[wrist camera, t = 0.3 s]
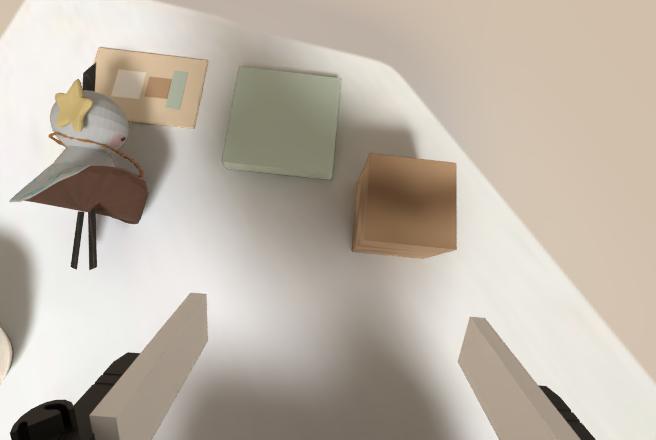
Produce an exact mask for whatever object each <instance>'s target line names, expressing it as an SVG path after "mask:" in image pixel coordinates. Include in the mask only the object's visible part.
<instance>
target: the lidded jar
mask: <svg viewBox="0 0 656 440" xmlns="http://www.w3.org/2000/svg"><path fill="white" fill-rule="evenodd" d="M12 358H13V349H12V345H11V342H10V340H9V338H8V337H7V336H6V334H5V332H4V331H3V330H2V329H1V327H0V385H1V383H2V381H3V380H4V378H5V376H6V374H7V372H8V370H9V368H10V366H11V363H12Z"/></svg>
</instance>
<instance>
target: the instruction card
mask: <svg viewBox="0 0 656 440" xmlns="http://www.w3.org/2000/svg"><path fill="white" fill-rule="evenodd" d="M95 63H96V80H95V92H98V93H100V94H103V95H105V96H107V97H109V98H110V99H111V100H113V101H114V102H115V103H116V104H117V105H118V106H119V107H120V108H121V109H122V110H123V112H124V113H125V115H126V117H127V120H128V121H129V122H138V123H147V124H156V125H165V126H174V127H183V128H192V129H194V128H195V123H196V118H197V113H198V109H199V104H200V99H201V94H202V90H203V85H204V80H205V75H206V71H207V66H208V61H207V60H199V59H191V58H182V57H174V56H165V55H157V54H148V53H140V52H132V51H123V50H115V49H106V48H98V51H97V54H96V57H95V61H94V64H95Z"/></svg>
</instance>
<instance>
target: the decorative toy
mask: <svg viewBox="0 0 656 440" xmlns="http://www.w3.org/2000/svg"><path fill="white" fill-rule="evenodd" d="M95 80H96V63H95V64H93V65H92V66H91V67H90V68H89V69H88V70H86V71H85V72H84V73H83V89H82V86H81V82H80V80H79V79H77V80H76V81H74V83H73V85H72V86H71V88H70V89H69V91H68V92H67V93H66V94H64V93H57V94H56V95H55V100H56V102H55V104H54V105H53V107H52V109H51V114H50V122H51V126H52V129H53V131H54V133H52V134H50V135H49V137H50V138H51V139H53V140H54V141H56V142H57V143H58V144H61V145H63V146H64V147H66V149H65V150H64V151H63V152H62V154H61V155H60V156H59V157H58V158H57V159H56V160H55V162H54V163H53V164H52V165H51V166H49V167H48V168H47V169H46V170H44V171H43V172H42V173H41V174H40V175H39V176H38V177H36V178H35V179H34V180H33V181H32V182H30V183H29V184H28V185H27V186H26V187H24V188H23V189H22V190H21V191H20V192H19V193H17V194H16V195H15V196H14V197H13V198H12V199H11V200H10V201H9V202H19V201H23V200H24V201H30V202H36V203H42V204H47V205H53V206H58V207H63V208H69V209H74V210H79V211H78V216H77V223H76V231H75V238H74V246H73V253H72V261H71V267H72V268H74V269H77V264H78V256H79V248H80V241H81V233H82V226H83V218H84V212H80V211H85V212H88V225H89V270H91V269H93V268H96V267H97V253H96V215H95V214H100V215H105V216H110V217H112V218H115V219H119V220H121V221H123V222H126V223H129V224H138V223H139V221H140V219H141V216H142V213H143V210H144V206H145V203H146V200H147V196H148V189H147V186H146V182H145V181H143V180H142V179H141V177H143V171H142V170H141V168H140V166H138V163H136V162H135V161H134V160H133V159H130V158H129V157H127V156H126V155H125V156H124V154H122V153H119V151H117V150H118V149H120V148H121V147H122V146H123V145H124V143H125V142H126V140H127V138H128V134H129V125H128V120H127V117H126V115H125V113H124V112H123V110H122V109H121V108H120V107H119V106H118V105H117V104H116V103H115V102H114V101H113V100H111V99H110V98H109V97H107V96H105V95H103V94H100V93H98V92H95ZM52 135H56V136H57V138H58V139H59V140H60V141H59V140H57V139H55V138H53V136H52ZM114 152H117V153H119V154H120V155H121V156H124V158H127V159H128V160H130V161H131V162H133V163H134V164H135V166H137V168H138V169H139V172H140V176H137V175H135V174H133V173H131V172H129V171H127V170H124V169H121V168H117V167H116V166H115V164H114V162H113V160H112V158H111V156H110V154H112V153H114Z"/></svg>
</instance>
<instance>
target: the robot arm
mask: <svg viewBox="0 0 656 440" xmlns="http://www.w3.org/2000/svg"><path fill="white" fill-rule="evenodd" d="M207 341H208V332H207V299H206V294H199V293H190V294H189V295H188V297H187V298H186V299H185V300H184V301H183V303H182V304H181V305H180V306H179V308H178V309H177V310H176V311H175V312H174V314H173V315H172V316H171V317H170V318H169V320H168V321H167V322H166V323H165V324H164V326H163V327H162V328H161V329H160V330H159V332H158V333H157V334H156V335H155V337H154V338H153V339H152V340H151V341H150V343H149V344H148V345H147V346H146V347H145V349H144V350H143V351H142V352H141V353H126V354H125V355H123V356H122V357H120V358H119V359H117V360H116V361H114V362H113V363H112V364H111V365H110V366H109V367H108V369H107V370H106V371H105V372H104V373H103V375H101V376H100V377H99V378H98V380H97V381H96V382H95V384H94V385H92V386H91V387H90V388H89V389H88V391H87V392H86V393H85V394H84V395H83V396H82V397H81V398H80V399H79V400H78V402H77V403H76V404H75V405H74V406H73V404H72V402H69V401H67V400H53V401H50V402H46V403H43V404H41V405H39V406H37V407H35V408H33V409H31V410H30V411H28V412H27V413H25V414H24V415H23V416H21V417H20V418H19V420H18V421H17V422H16V423H15V424H14V425H13V427H12V430H11V432H10V435H11V439H12V440H152V438H153V436H154V435H155V433H156V431H157V429H158V428H159V426H160V424H161V422H162V421H163V419H164V417H165V415H166V414H167V412H168V410H169V408H170V406H171V405H172V403H173V401H174V399H175V398H176V396H177V394H178V392H179V391H180V389H181V387H182V385H183V384H184V382H185V380H186V378H187V376H188V375H189V373H190V371H191V369H192V368H193V366H194V364H195V362H196V361H197V359H198V357H199V355H200V354H201V352H202V350H203V348H204V346H205V345H206V343H207ZM458 363H459V365H460V367H461V369H462V371H463V372H464V374H465V376H466V378H467V380H468V382H469V384H470V386H471V388H472V389H473V391H474V393H475V395H476V397H477V399H478V401H479V403H480V405H481V406H482V408H483V410H484V412H485V414H486V416H487V418H488V420H489V421H490V423H491V425H492V427H493V429H494V431H495V433H496V435H497V437H498V438H499V440H595V438H594V437H593V436H592V435H591V434H590V432H589V431H588V430H587V429H586V428H585V426H584V425H583V424H582V423H580V420H579V419H578V418H577V417H576V416H575V414H574V413H572V412H571V410H570V408H569V407H568V406H567V405H566V404H565V402H564V401H563V400H562V399H561V398H560V397H559V396H558V395H557V394H555V393H554V392H553V391H552V390H550V389H549V388H548V387H547V386H538V385H537V384H536V382H535V381H534V380H533V379H532V377H531V376H530V375H529V373H528V372H527V371H526V370H525V368H524V367H523V366H522V365H521V363H520V362H519V361H518V359H517V358H516V357H515V356H514V354H513V353H512V352H511V351H510V349H509V348H508V347H507V345H506V344H505V343H504V342H503V340H502V339H501V338H500V337H499V335H498V334H497V333H496V332H495V330H494V329H493V328H492V326H491V325H490V324H489V323H488V321H487V320H486V319H485V318H477V317H470V318H469V322H468V326H467V329H466V333H465V337H464V341H463V344H462V348H461V352H460V355H459V359H458Z"/></svg>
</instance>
